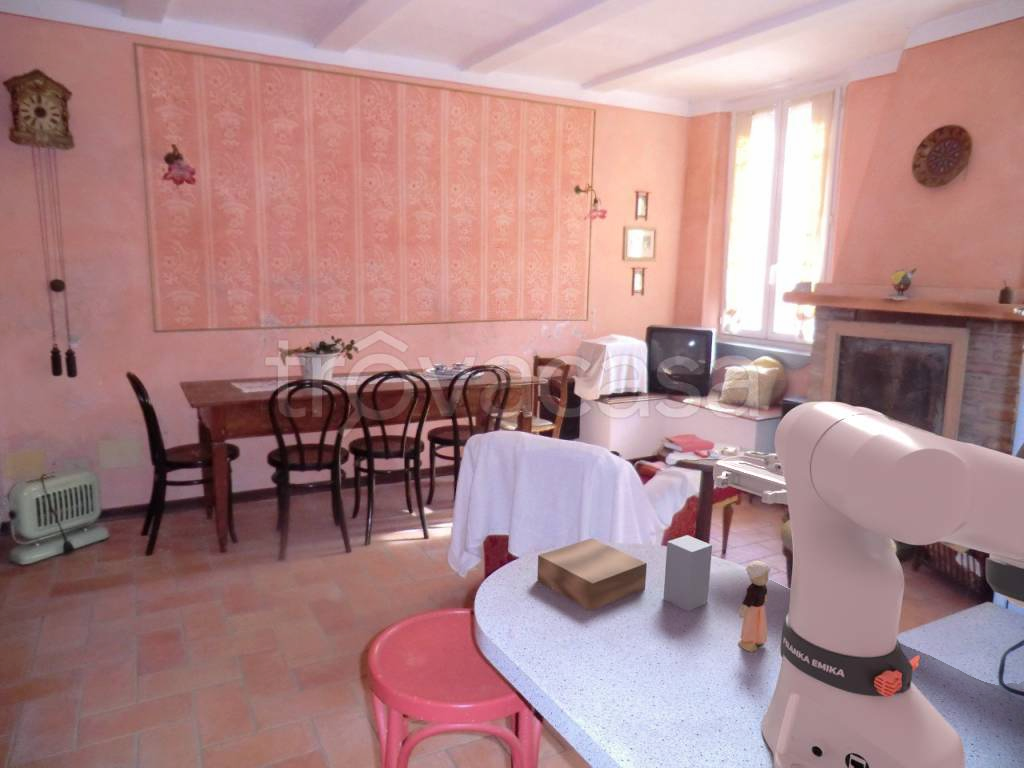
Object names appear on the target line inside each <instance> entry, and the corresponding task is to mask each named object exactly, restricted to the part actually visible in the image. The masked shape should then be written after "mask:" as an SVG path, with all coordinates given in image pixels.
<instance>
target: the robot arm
mask: <svg viewBox="0 0 1024 768" xmlns="http://www.w3.org/2000/svg"><path fill="white" fill-rule="evenodd" d="M774 449H775V453H768V452H761V451H753V450H748V451H746V452H743V453H744V454H743V455H733V456H729V457H725V458H722V459H719V460H717V461H715V462H714V464H713V470H712V477H713V478H712V479H713V481H714V482H715V483H714V485H715V487H717V488H721V489H726V488H728V487H731V488H733V489H734V488H735V489H738V490H741V491H743V492H746V493H749V494H753V495H756V496H759V497H761V498H760V499H761V502H763V503H765V504H767V505H768V504H769V505H772V504H781V505H782V504H784V505H786V506H787V507H788V514H789V515H788V516H789V523H790V530H791V541H792V571H791V582H790V593H789V605H788V612H787V613H786V614H785V616H784V618H783V625H782V630H781V637H780V638H781V639H780V656H781V658H782V659H781V663H780V669H779V673H778V678H777V681H776V685H775V689H774V692H773V695H772V697H771V701H770V703H769V706H768V707H767V711H766V712H765V714H764V716H763V718H762V720H761V731H762V735H763V738H764V740H765V742H766V744H767V746H768V747H769V749H770V751H771V753H772V755H773V758H772V759H773V768H967V762H966V760H967V759H966V753H965V747H964V743H963V740H962V738H961V736H960V734H959V732H957V730H956V729H955V728H954V727H953V726H952V725H951V723H949V721H947V720H946V718H944V716H943V715H942V714H941V713H940V712H939V711H938V710H937V708H936V707H935V706H934V705H933V704H932V703H931V702H930V701H929V700H928V699H927V697H925V695H924V694H923V693H922V692H921V690H920V689H918V687H917V686H916V685H915V683H913V681H912V679H913V672H914V671H915V670H916V669H918V668H919V665H920V663H919V662H920V658H921V657H920V655H919V654H918V655H916V656H914V657H913V658H912V659H910V660H909V659H908V657H907V656H906V654H905V653H904V651H903V649H902V645H901V643H900V641H899V639H898V635H899V627H900V626H899V625H900V621H901V620H900V619H901V612H902V611H901V610H902V604H903V598H904V597H903V596H904V592H905V591H904V589H905V577H904V572H903V567H902V565H901V563H900V560H899V558H898V556H897V555H896V552H895V549H894V547H893V543H892V541H891V540H893V541H897V542H900V543H903V544H907V545H913V546H925V545H931V544H935V543H938V542H944V543H949V544H954V545H957V546H961V547H965V548H967V549H971V550H976V551H978V552H983V553H984V554H985V553H986V554H989V557H986V558H985V579H986V582H987V584H988V585H989V586H990V588H991V589H992V591H994V592H995V593H997V594H999V595H1000V596H1001V597H1003V598H1004V599H1005V600H1007V601H1008V602H1010V603H1011V604H1013V605H1015V606H1017V607H1019V608H1021V609H1024V442H1023V443H1022V444H1021V446H1020V447H1019V449H1018V450H1017V453H1016V454H1015V456H1014V455H1011V454H1008V453H1005V452H1002V451H998V450H995V449H992V448H987V447H985V446H982V445H977V444H976V443H970V442H963V441H960V440H959V441H958V440H956V439H955V440H954V439H951V438H948V437H946V436H943V435H941V434H937V433H935V432H932V431H929V430H925V429H923V428H920V427H917V426H914V425H911V424H909V423H906V422H902V421H900V420H897V419H894V418H892V417H889V416H887V415H886V414H884V413H882V412H880V411H878V410H874V409H871V408H868V407H863V406H853V405H851V404H848V403H844V402H841V401H810V402H809V401H808V402H805V403H802V404H799V405H796V406H795V407H794V408H792V409H790V410H789V411H788V412H787V413H785V415H784V416H783V417H782V418H781V420H780V422H779V423H778V425H777V427H776V429H775V435H774Z"/></svg>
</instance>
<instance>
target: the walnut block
mask: <svg viewBox="0 0 1024 768" xmlns="http://www.w3.org/2000/svg"><path fill="white" fill-rule="evenodd" d="M647 567H648V563H647V562H646V561H643V560H641V559H639V558H636V557H634V556H632V555H629V554H627V553H625V552H623V551H621V550H619V549H616V548H614V547H613V546H611V545H610V546H609V545H608V544H606V543H603V542H601V541H599V540H597V539H595V538H588V539H586V540H582V541H578V542H575V543H572V544H569V545H566V546H564V547H560V548H557V549H553V550H550V551H547V552H543V553H541V554H538V555H537V579H536V581H537V580H538V582H539V581H540V582H539V583H541V584H542V583H543V585H544V584H545V585H544V586H546V585H547V586H546V587H548V588H550V589H551V588H553V589H554V590H553V589H552V590H553V591H555V590H556V591H555V592H557V593H558V594H560V593H561V595H562V596H563V597H566V598H567V599H569V600H571V601H573V602H575V603H576V604H578V605H580V606H582V607H583V608H585V609H587V610H589V611H591V612H592V611H594V610H596V609H599V608H601V607H603V606H606V605H609V604H611V603H613V602H615V601H616V602H617V601H619V600H622V599H624V598H625V597H628V596H631V595H633V594H635V593H638V592H640V591H644V590H645V589H646V580H647Z"/></svg>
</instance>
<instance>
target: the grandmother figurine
mask: <svg viewBox="0 0 1024 768" xmlns="http://www.w3.org/2000/svg"><path fill="white" fill-rule="evenodd" d="M745 571H746V572H747V576H748V577H749V580H750V582H751V584H749V586H748V587H747V589H746V592H745V596H744V598H743V601H742V603H741V607H740V611H739V612H738V617H740V618H741V619H743V621H742V628H741V632H740V640H739V641H738V643H737V644H738V646H739V647H740V648H742V649H743V650H745V651H747V652H750V653H753V652H756V651H758V647H757V646H762V645H764V643H767V641H768V630H767V629H768V628H767V625H768V624H767V618H766V607H765V606H766V605H765V603H766V602H767V601H768V599H769V597H768V596H769V595H768V589H767V585H766V584H767V583H768V581H769V573H770V572H771V567H770V565H769V564H767V562H764V561H761V560H754V561H752V562H751V563H750V564H748V565H747V567H746V568H745Z"/></svg>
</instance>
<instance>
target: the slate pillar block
mask: <svg viewBox="0 0 1024 768" xmlns="http://www.w3.org/2000/svg"><path fill="white" fill-rule="evenodd" d="M712 551H713V545H712V544H711V543H708V542H705V541H703V540H700V539H698V538H695V537H693V536H691V535H688V534H687V535H686V534H685V535H684V536H681V537H677V538H673V539H671V540H668V541H667V542H666V554H665V555H666V559H665V573H664V587H663V600H665V601H667V602H669V603H671V604H672V605H675V606H676V607H678V608H679V609H683V610H684V611H686V612H689V611H690V612H691V611H692V610H695V609H697V608H699V607H701V606H704V605H706V604H708V602H709V599H708V598H709V589H710V577H711V565H712Z"/></svg>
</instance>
